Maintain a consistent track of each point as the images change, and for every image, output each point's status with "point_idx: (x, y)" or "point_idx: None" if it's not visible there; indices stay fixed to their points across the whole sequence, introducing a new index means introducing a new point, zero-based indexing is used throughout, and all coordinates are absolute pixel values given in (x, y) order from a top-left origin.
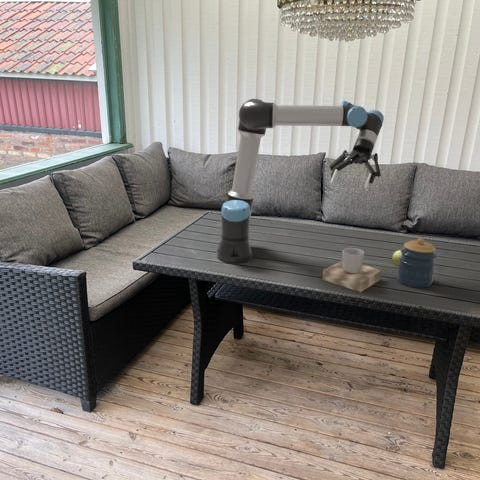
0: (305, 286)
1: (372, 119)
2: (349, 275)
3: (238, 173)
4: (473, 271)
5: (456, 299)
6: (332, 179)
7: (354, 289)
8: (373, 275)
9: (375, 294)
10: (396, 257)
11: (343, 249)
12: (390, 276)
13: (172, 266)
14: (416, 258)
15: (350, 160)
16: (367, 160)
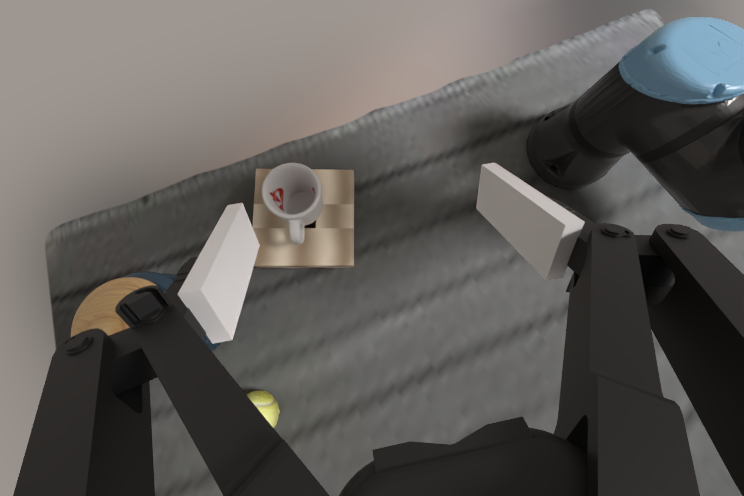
0: (359, 128)
1: None
2: None
3: None
4: None
5: (89, 287)
6: (499, 173)
7: None
8: (253, 223)
9: (236, 190)
10: (258, 394)
11: (318, 182)
12: (248, 305)
13: (596, 34)
14: (133, 273)
15: (579, 412)
16: (233, 492)
